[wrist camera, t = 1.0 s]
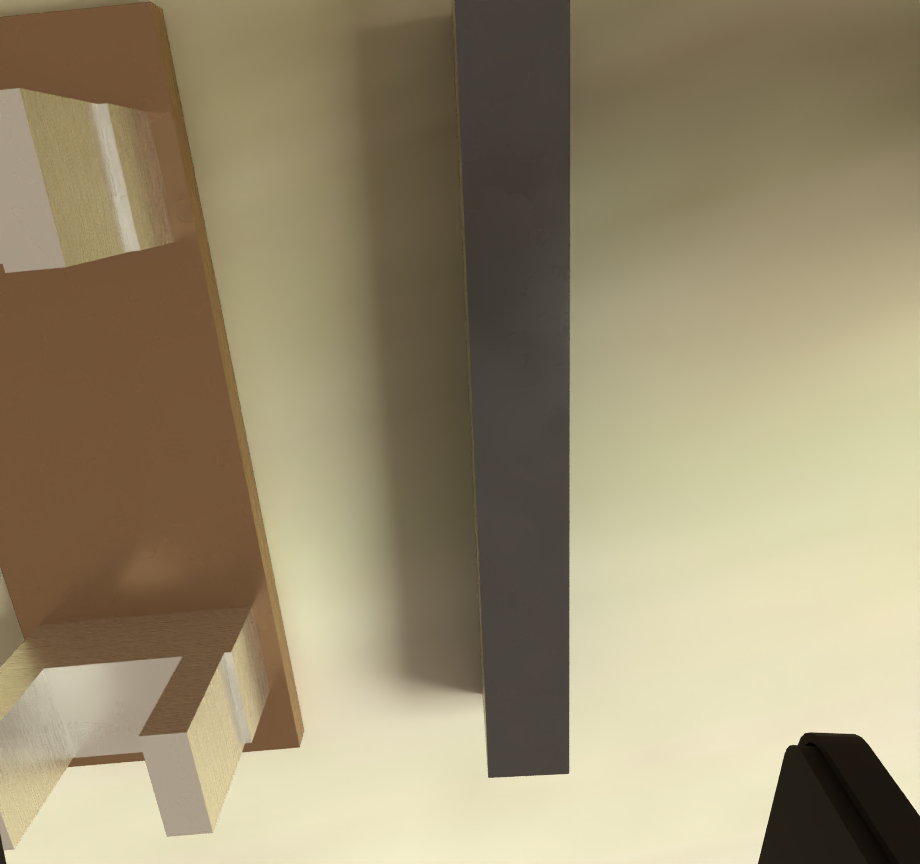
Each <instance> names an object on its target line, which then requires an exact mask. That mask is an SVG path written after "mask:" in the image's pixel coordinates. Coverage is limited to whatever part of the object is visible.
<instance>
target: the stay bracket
mask: <svg viewBox="0 0 920 864" xmlns="http://www.w3.org/2000/svg"><path fill="white" fill-rule="evenodd" d="M0 566H1V569H2V572H3V575H4V578H5V581H6V584H7V588H8V591H9V594H10V597H11V600H12V603H13V606H14V609H15V612H16V615H17V618H18V621H19V624H20V627H21V630H22V633H23V636H24V639H25V641H24V642H23V643H22V644H21V645H20V646H19V648H18V649H17V650H16V651H15V652H14V653H13V654H12V655H11V656H10V657H9V658H8V660H7V661H6V662H5V663H4V664H3V665H2V666H1V667H0V835H1V840H2V845H3V850H12V849H15V847H16V846H17V844H18V843H19V841H20V840H21V838H22V836H23V835H24V833H25V832H26V830H27V829H28V827H29V826H30V824H31V822H32V821H33V819H34V818H35V816H36V815H37V813H38V812H39V810H40V808H41V807H42V805H43V804H44V802H45V801H46V799H47V798H48V796H49V794H50V793H51V791H52V790H53V788H54V787H55V785H56V784H57V782H58V781H59V779H60V777H61V776H62V774H63V773H64V771H65V770H66V768H67V767H74V766H86V765H97V764H109V763H121V762H133V761H145V762H146V765H147V769H148V772H149V776H150V779H151V783H152V786H153V790H154V793H155V797H156V800H157V804H158V807H159V811H160V814H161V818H162V821H163V825H164V828H165V832H166V835H167V837H168V836H180V835H192V834H204V833H213V831H214V829H215V826H216V823H217V820H218V817H219V815H220V812H221V809H222V806H223V803H224V801H225V798H226V795H227V792H228V789H229V787H230V784H231V781H232V778H233V775H234V773H235V770H236V767H237V764H238V762H239V759H240V756H241V753H242V752H251V751H262V750H274V749H286V748H298V747H300V744H301V741H302V737H303V733H304V728H303V723H302V718H301V713H300V708H299V702H298V697H297V692H296V687H295V682H294V677H293V672H292V667H291V662H290V657H289V652H288V647H287V641H286V636H285V631H284V626H283V621H282V616H281V611H280V606H279V601H278V596H277V591H276V586H275V580H274V575H273V570H272V565H271V560H270V555H269V550H268V545H267V540H266V535H265V530H264V525H263V519H262V514H261V509H260V504H259V499H258V494H257V489H256V484H255V479H254V474H253V469H252V463H251V458H250V453H249V448H248V443H247V438H246V433H245V428H244V423H243V418H242V413H241V408H240V402H239V397H238V392H237V387H236V382H235V377H234V372H233V367H232V362H231V357H230V352H229V347H228V341H227V336H226V331H225V326H224V321H223V316H222V311H221V306H220V301H219V296H218V291H217V286H216V280H215V275H214V270H213V265H212V260H211V255H210V250H209V245H208V240H207V235H206V230H205V224H204V219H203V214H202V209H201V204H200V199H199V194H198V189H197V184H196V179H195V174H194V169H193V163H192V158H191V153H190V148H189V143H188V138H187V133H186V128H185V123H184V118H183V113H182V108H181V102H180V97H179V92H178V87H177V82H176V77H175V72H174V67H173V62H172V57H171V52H170V47H169V41H168V36H167V31H166V26H165V21H164V16H163V11H162V9H161V8H160V7H158V6H156V5H154V4H153V3H151V2H145V3H135V4H125V5H115V6H105V7H95V8H86V9H76V10H66V11H56V12H46V13H36V14H26V15H16V16H7V17H0Z"/></svg>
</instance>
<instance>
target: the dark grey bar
mask: <svg viewBox="0 0 920 864" xmlns="http://www.w3.org/2000/svg"><path fill="white" fill-rule="evenodd" d="M452 22H453V44H454V67H455V89H456V112H457V134H458V156H459V179H460V201H461V223H462V246H463V268H464V290H465V313H466V335H467V357H468V380H469V402H470V424H471V447H472V469H473V491H474V514H475V536H476V558H477V581H478V603H479V626H480V648H481V670H482V693H483V708H484V722H485V736H486V751H487V765H488V778H494V777H514V776H534V775H553V774H569V372H570V0H453V4H452Z"/></svg>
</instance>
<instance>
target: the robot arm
mask: <svg viewBox="0 0 920 864" xmlns="http://www.w3.org/2000/svg"><path fill="white" fill-rule="evenodd" d="M0 864H6V860H5V855H4V850H3V845H2V840H1V835H0ZM758 864H920V816H919V814H918V813H917V812H916V810H915V809H914V807H913V806H912V805H911V803H910V802H909V800H908V799H907V798H906V796H905V795H904V793H903V792H902V791H901V789H900V788H899V787H898V785H897V784H896V782H895V781H894V780H893V778H892V777H891V775H890V774H889V773H888V771H887V770H886V768H885V767H884V766H883V764H882V763H881V762H880V760H879V759H878V757H877V756H876V755H875V753H874V752H873V750H872V749H871V748H870V746H869V745H868V744H867V743H866V741H865V740H864V739H863V738H862V737H860V736H858V735H856V734H836V733H805V734H804V735H803V736H802V737H801V738H800V741H799V744H798V745H791V746H789V747H788V748H787V749H786V752H785V755H784V759H783V763H782V767H781V771H780V775H779V779H778V784H777V788H776V792H775V796H774V800H773V804H772V808H771V812H770V816H769V821H768V825H767V829H766V833H765V837H764V841H763V845H762V849H761V854H760V858H759V862H758Z"/></svg>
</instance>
